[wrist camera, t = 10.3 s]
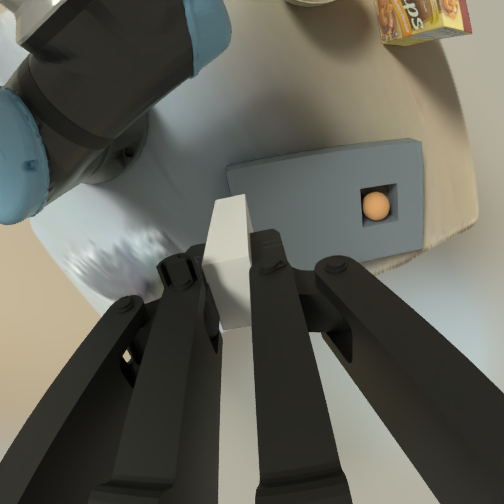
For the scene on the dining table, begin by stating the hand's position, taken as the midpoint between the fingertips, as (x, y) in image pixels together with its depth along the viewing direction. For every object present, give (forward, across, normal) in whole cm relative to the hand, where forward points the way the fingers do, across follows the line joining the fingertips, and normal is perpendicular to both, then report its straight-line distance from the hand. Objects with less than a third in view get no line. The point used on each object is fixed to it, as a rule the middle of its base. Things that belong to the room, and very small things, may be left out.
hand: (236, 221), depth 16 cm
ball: (+24, +17, -11) cm, 31 cm away
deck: (+26, +11, -10) cm, 30 cm away
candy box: (+27, +24, +16) cm, 39 cm away
